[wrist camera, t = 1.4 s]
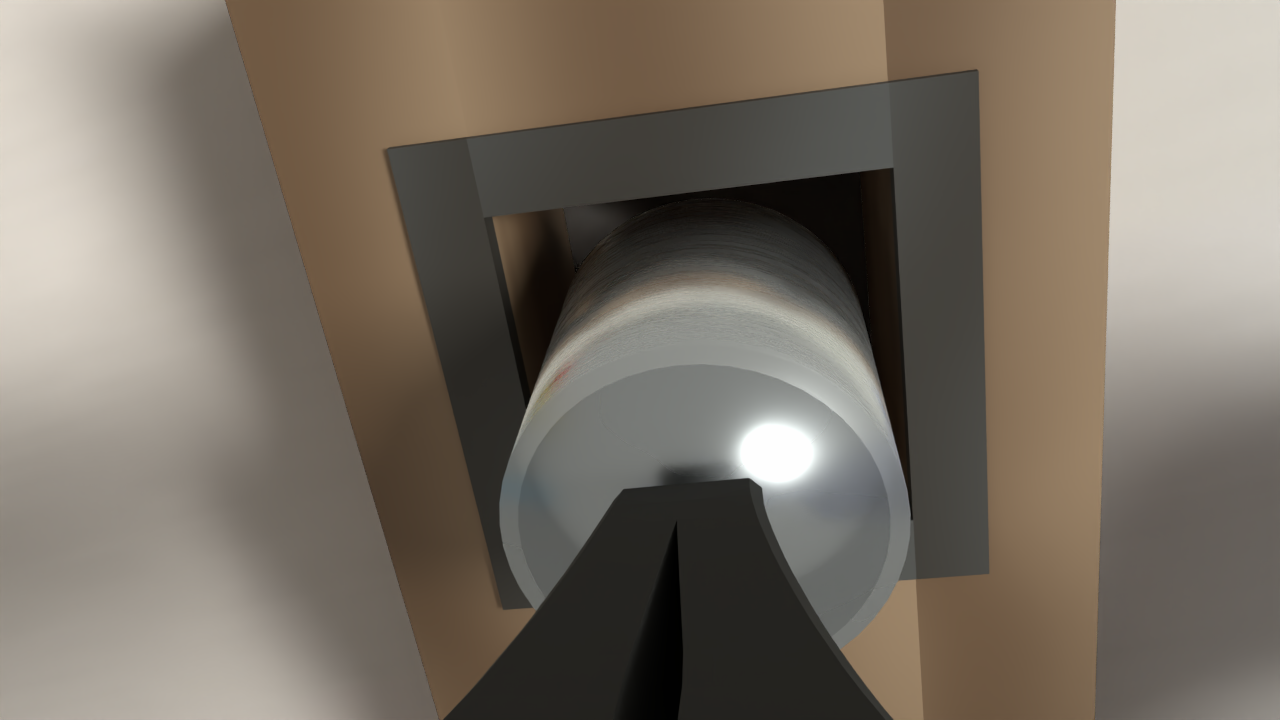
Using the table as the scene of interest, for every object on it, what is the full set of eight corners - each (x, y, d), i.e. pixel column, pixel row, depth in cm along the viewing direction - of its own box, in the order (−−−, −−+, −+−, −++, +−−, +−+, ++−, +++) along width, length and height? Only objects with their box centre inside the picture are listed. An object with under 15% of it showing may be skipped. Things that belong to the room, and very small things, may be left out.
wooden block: (1013, -194, 16) (1125, -195, 11) (1021, 940, 26) (1082, 1179, 22) (346, -85, 17) (206, -49, 13) (601, 954, 28) (574, 1181, 23)
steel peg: (853, 178, 14) (899, 324, 10) (873, 460, 16) (920, 677, 12) (534, 218, 15) (458, 370, 11) (587, 485, 17) (540, 701, 13)
